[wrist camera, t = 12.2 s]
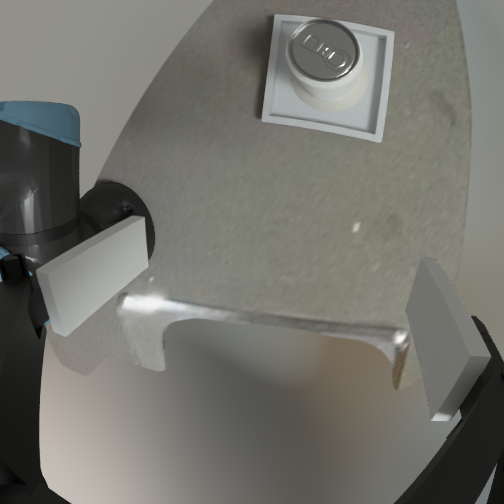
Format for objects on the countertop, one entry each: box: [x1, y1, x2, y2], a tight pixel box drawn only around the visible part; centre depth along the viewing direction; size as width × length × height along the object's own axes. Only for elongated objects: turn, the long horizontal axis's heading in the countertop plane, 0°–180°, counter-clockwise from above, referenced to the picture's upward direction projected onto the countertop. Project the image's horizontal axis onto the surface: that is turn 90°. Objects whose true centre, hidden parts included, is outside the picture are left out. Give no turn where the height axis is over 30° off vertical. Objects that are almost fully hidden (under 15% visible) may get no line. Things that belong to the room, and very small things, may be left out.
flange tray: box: [261, 14, 394, 143], centre depth 30 cm, size 14×14×2 cm
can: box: [286, 18, 363, 101], centre depth 25 cm, size 6×6×12 cm
